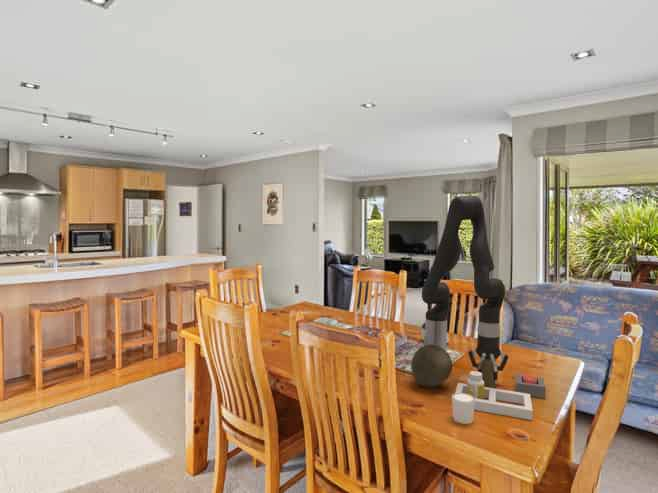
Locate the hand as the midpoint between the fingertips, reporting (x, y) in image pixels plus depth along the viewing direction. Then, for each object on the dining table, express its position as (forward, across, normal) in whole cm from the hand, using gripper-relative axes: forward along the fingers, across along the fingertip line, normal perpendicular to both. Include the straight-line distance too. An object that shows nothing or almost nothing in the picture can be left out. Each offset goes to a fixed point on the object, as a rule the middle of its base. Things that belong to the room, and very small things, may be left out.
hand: (487, 379), depth 145 cm
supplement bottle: (+3, -3, -14) cm, 15 cm away
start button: (+1, +14, +2) cm, 14 cm away
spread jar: (+3, -25, +45) cm, 52 cm away
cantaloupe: (+3, -19, -7) cm, 20 cm away
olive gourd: (+3, 0, 0) cm, 3 cm away
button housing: (+3, +14, +2) cm, 14 cm away
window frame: (+3, +2, -14) cm, 14 cm away
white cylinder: (+3, -6, -28) cm, 29 cm away
